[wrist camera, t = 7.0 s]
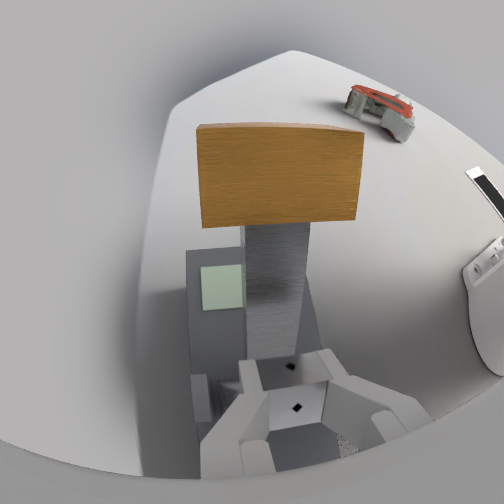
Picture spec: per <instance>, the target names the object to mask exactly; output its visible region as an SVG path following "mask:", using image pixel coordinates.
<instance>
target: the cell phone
mask: <svg viewBox="0 0 504 504" xmlns="http://www.w3.org/2000/svg"><path fill="white" fill-rule="evenodd" d="M465 173H466V174H467V176H468V177H469V178H470V179H471V180H472V181H473V183H474V184H475V185H476V186H477V187H478V188H479V190H480V191H481V192H482V193H483V195H484V196H485V197H486V198H487V200H488V201H489V202H490V204H491V205H492V206H493V208H494V209H495V210H496V212H497V213H498V214H499V216H500V217H501V219H502V220H503V221H504V197H503V196H502V195H501V193H500V192H499V191H498V190H497V188H496V187H495V186H494V185H493V183H492V182H491V181H490V180H489V179H488V177H487V176H486V175H485V174H484V173H483V172H482V170H481V169H480V168H479V167H475V168H473V169H470V170H467V171H466V172H465Z"/></svg>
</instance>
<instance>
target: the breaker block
mask: <svg viewBox="0 0 504 504" xmlns="http://www.w3.org/2000/svg"><path fill="white" fill-rule="evenodd" d="M186 284H187V312H188V332H189V348H190V362H191V375H190V383H191V394H192V404H193V413H194V422H196V423H197V431H198V439H199V446H200V443H201V441H202V440H203V439H204V438H205V437H206V435H207V434H208V433H209V432H210V431H211V429H212V428H213V427H214V426H215V424H216V423H217V422H218V421H219V419H220V418H221V417H222V416H223V415H221V414H220V409H219V402H218V393H217V380H227V379H238V378H239V365H238V363H239V360H244V340H243V311H242V278H241V247H229V248H215V249H202V250H188V251H186ZM318 350H322V347H321V342H320V337H319V332H318V327H317V323H316V318H315V313H314V308H313V304H312V299H311V295H310V290H309V286H308V282H307V277H306V273H305V281H304V289H303V297H302V305H301V313H300V320H299V327H298V334H297V341H296V347H295V354H294V355H297V354H304V353H310V352H314V351H318ZM336 358H337V359H338V357H337V356H336ZM265 441H266V442H268V444H269V448H270V451H271V455H272V459H273V462H274V466H275V470H276V472H282V471H287V470H293V469H298V468H303V467H307V466H312V465H316V464H320V463H324V462H328V461H332V460H335V459H339V458H340V454H339V446H338V439H337V433H335V432H334V431H332V430H331V429H330V428H328V427H327V426H325V425H324V424H322V423H321V422H317V423H312V424H306V425H301V426H295V427H290V428H285V429H279V430H274V431H269V434H268V436H267V438H266V440H265Z"/></svg>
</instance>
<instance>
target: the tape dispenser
mask: <svg viewBox="0 0 504 504" xmlns="http://www.w3.org/2000/svg"><path fill="white" fill-rule="evenodd" d="M351 88H352V91H351V92H350V94H349V96H348V99H347V100H348V101H347V102H346V104H345V108H344V109H343V111H344V112H345V113H347V114H349V115H351V116H353V117H354V118H357V119H360V118H361V115H362V112H363V110H364V107H367V108H369V109H368V111H369V112H371V113H374V114H378V115H381V116H382V119H381V127H384V128H387V129H389V131H388V133H389V134H390V135H391V136H392V137H395V139H397V140H399V141H402V142H406V141H407V139H408V138H409V136H410V134H411V133H412V131H413V129H414V127H415V125H414V123H413V121H414V119H415V117H414V116H413V112H412V109H413V107H412V106H411V105H412V103H411V100H410V99H409V98H406V97H404V96H403V95H400V94H397V95H395V96H391V95H388V94H386V93H383V92H380V91H377V90H374V89H370V88H367V87H364V86H361V85H354V86H352V87H351Z"/></svg>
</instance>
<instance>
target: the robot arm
mask: <svg viewBox="0 0 504 504" xmlns="http://www.w3.org/2000/svg"><path fill="white" fill-rule="evenodd" d="M463 278H464V282H465V285H466V288H467V291H468V297H469V318H470V325H471V330H472V334H473V338H474V341H475V344H476V347H477V349H478V352H479V354H480V356H481V358H482V359H483V361H484V363H485V364H486V365H487V367H488V368H489V369H490V370H491V371H492V372H494V373H495V374H497V375H500V376H504V237H502V236H499V237H498V238H497V239H495V240H494V241H493V242H492V243H491V244H490V245H489V246H488V247H487V248H486V249H485V250H484V251H483V252H482V253H481V254H480V255H478V256H477V257H476V258H475V259H474V260H473V261H472V262H471V263H469V264H468V265H467V266H466V267H465V268H464V269H463ZM238 365H239V380H240V392H241V394H239V395H238V396H237V398H236V399H235V400H234V402H233V403H232V404H231V405H230V407H229V408H228V409H227V411H226V412H225V413H224V414H223V416H222V417H221V418H220V419H219V421H218V422H217V423H216V424H215V426H214V427H213V428H212V429H211V431H210V432H209V433H208V434H207V435H206V437H205V438H204V439H203V440H202V441H201V443H200V472H201V479H168V478H152V477H141V476H132V475H124V474H117V473H111V472H105V471H99V470H94V469H89V468H85V467H80V466H77V465H72V464H69V463H65V462H61V461H58V460H54V459H51V458H48V457H44V456H41V455H38V454H35V453H33V452H30V451H27V450H25V449H22V448H19V447H17V446H14V445H12V444H9V443H7V442H5V441H2V440H0V504H504V377H503V378H502V379H501V380H499V381H498V382H496V383H495V384H494V385H492V386H491V387H489V388H488V389H487V390H485V391H484V392H482V393H481V394H479V395H478V396H476V397H474V398H473V399H471V400H470V401H468V402H467V403H465V404H463V405H462V406H460V407H458V408H457V409H455V410H453V411H451V412H450V413H448V414H446V415H444V416H442V417H440V418H439V419H437V420H435V421H434V420H433V418H432V417H431V416H430V415H429V414H428V413H427V411H426V410H425V409H424V408H423V407H422V406H421V405H420V403H419V402H418V401H417V400H416V399H415V398H413V397H410V396H408V395H405V394H402V393H399V392H396V391H394V390H391V389H388V388H386V387H383V386H380V385H378V384H375V383H373V382H370V381H368V380H365V379H363V378H360V377H358V376H355V375H351V376H349V374H348V373H347V372H346V370H345V369H344V367H343V366H342V365H341V363H340V362H339V360H338V359H337V358H336V356H335V355H334V353H333V352H332V351H331V349H329V348H328V349H323V350H318V351H314V352H310V353H304V354H297V355H291V356H281V357H271V358H261V359H255V360H254V359H250V360H239V363H238ZM317 422H321V423H322V424H324V425H325V426H327V427H328V428H330V429H331V430H332V431H334V432H335V433H337V434H338V435H340V436H341V437H343V438H344V439H346V440H347V441H349V442H351V443H352V444H354V445H355V446H357V447H358V448H359V450H358V453H355V454H352V455H349V456H346V457H342V458H339V459H335V460H332V461H328V462H324V463H320V464H316V465H312V466H307V467H303V468H298V469H293V470H287V471H282V472H276V470H275V466H274V462H273V459H272V455H271V451H270V448H269V444H268V442H266V441H265V440H266V438H267V436H268V434H269V431H274V430H279V429H285V428H290V427H295V426H301V425H306V424H312V423H317Z"/></svg>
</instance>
